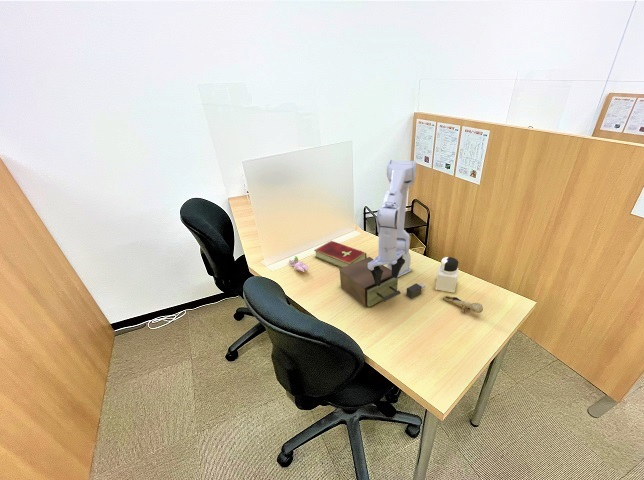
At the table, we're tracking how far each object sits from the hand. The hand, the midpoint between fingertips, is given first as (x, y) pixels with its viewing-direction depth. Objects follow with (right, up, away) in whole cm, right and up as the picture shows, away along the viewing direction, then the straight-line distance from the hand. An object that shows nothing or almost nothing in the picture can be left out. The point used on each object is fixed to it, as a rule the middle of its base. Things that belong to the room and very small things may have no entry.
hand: (386, 280), depth 99 cm
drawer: (-3, -5, +9) cm, 11 cm away
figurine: (+27, -10, +2) cm, 29 cm away
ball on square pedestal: (+24, -2, +13) cm, 28 cm away
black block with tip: (+12, -5, +10) cm, 17 cm away
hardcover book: (-18, +10, +33) cm, 39 cm away
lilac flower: (-36, +5, +27) cm, 45 cm away
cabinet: (-6, -3, +13) cm, 15 cm away
